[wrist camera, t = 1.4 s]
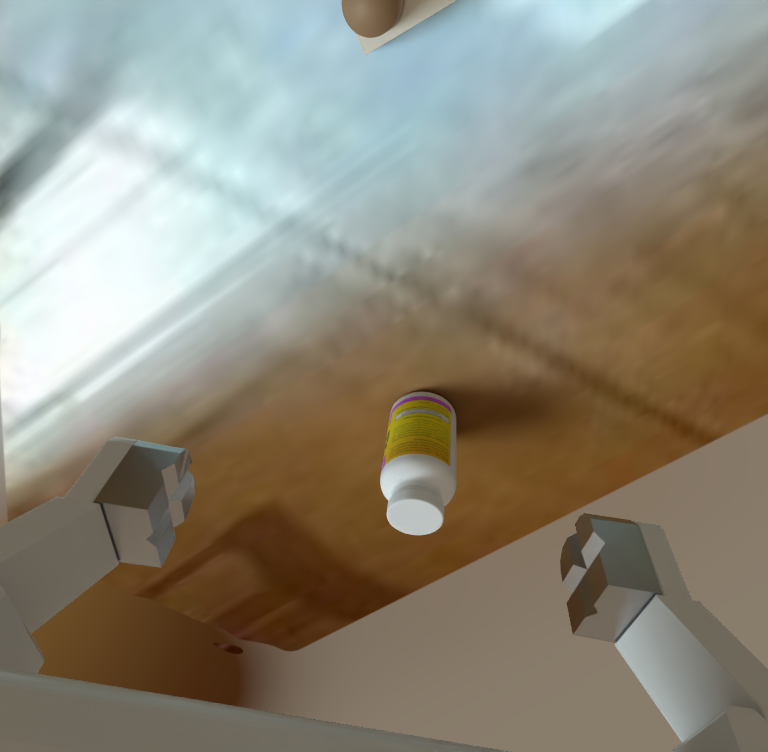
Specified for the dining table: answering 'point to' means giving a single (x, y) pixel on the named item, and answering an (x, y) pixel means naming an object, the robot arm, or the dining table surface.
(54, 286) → the dining table surface
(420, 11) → the stool seat
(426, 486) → the supplement bottle
